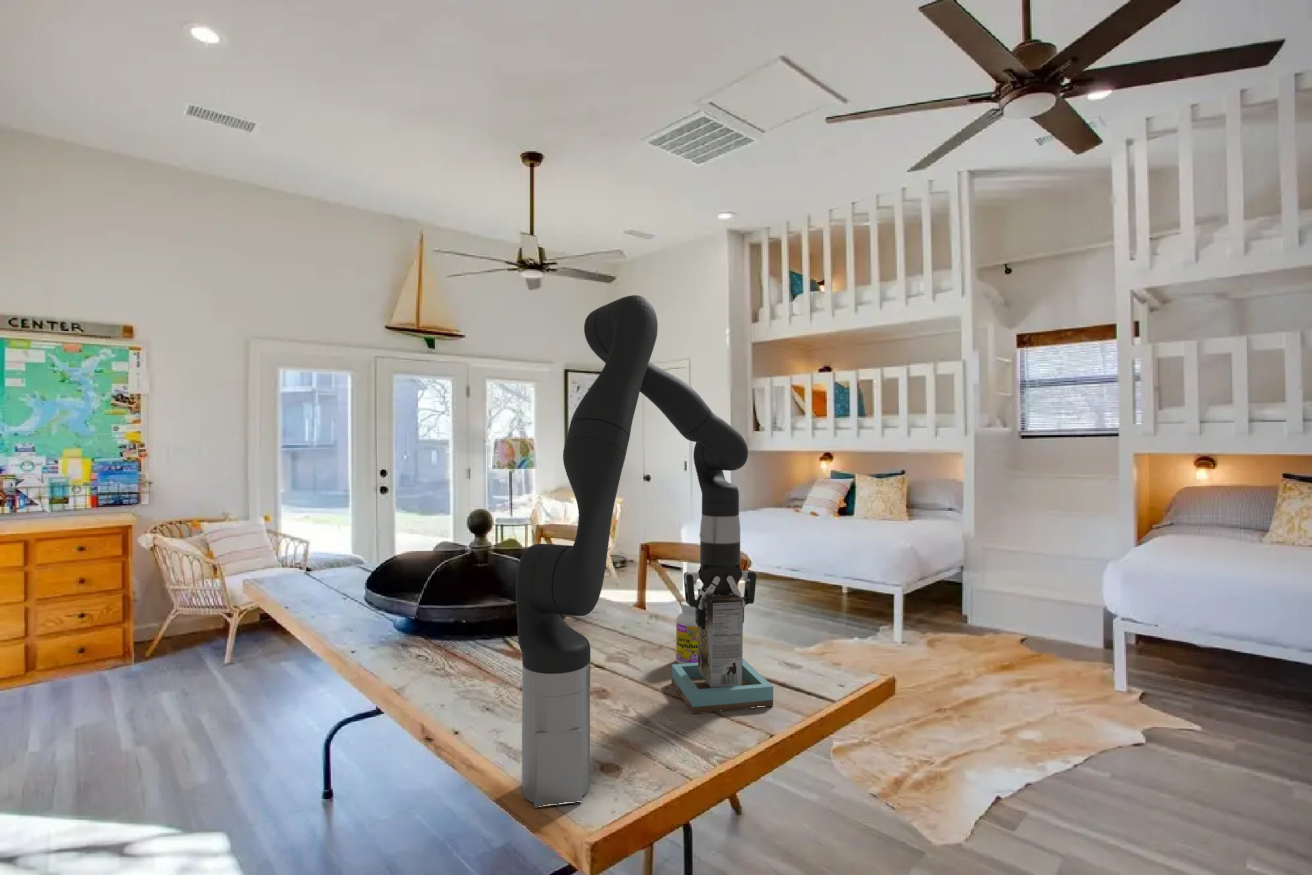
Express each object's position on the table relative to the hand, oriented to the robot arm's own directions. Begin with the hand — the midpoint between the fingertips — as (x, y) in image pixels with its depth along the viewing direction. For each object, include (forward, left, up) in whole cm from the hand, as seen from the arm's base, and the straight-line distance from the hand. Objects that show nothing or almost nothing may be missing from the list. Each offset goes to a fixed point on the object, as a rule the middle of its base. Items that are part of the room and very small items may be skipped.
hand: (719, 627), depth 122 cm
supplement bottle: (+18, 0, -13) cm, 22 cm away
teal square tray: (0, 0, -13) cm, 13 cm away
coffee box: (0, 0, -10) cm, 10 cm away
